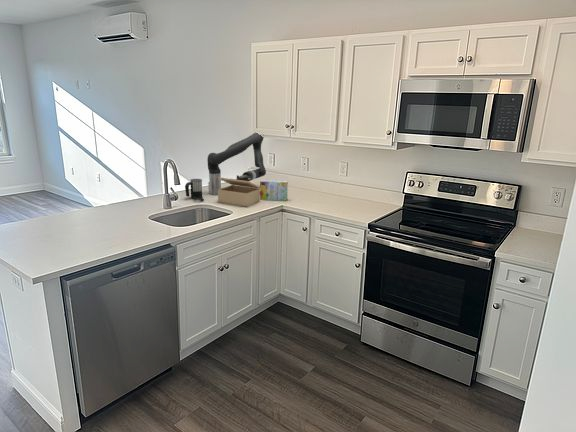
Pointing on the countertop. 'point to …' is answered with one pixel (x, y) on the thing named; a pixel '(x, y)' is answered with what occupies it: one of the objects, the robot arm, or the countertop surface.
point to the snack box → (273, 190)
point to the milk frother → (195, 189)
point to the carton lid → (239, 182)
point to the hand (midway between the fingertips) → (237, 179)
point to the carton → (239, 195)
